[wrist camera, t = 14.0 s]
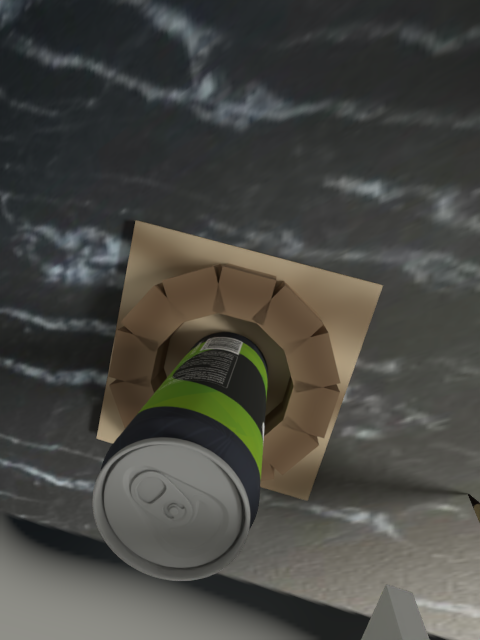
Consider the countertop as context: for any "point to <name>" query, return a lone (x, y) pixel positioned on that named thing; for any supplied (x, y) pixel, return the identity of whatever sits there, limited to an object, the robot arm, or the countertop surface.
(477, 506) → the ice cream cone
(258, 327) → the holder
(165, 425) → the beverage can
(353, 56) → the countertop surface
